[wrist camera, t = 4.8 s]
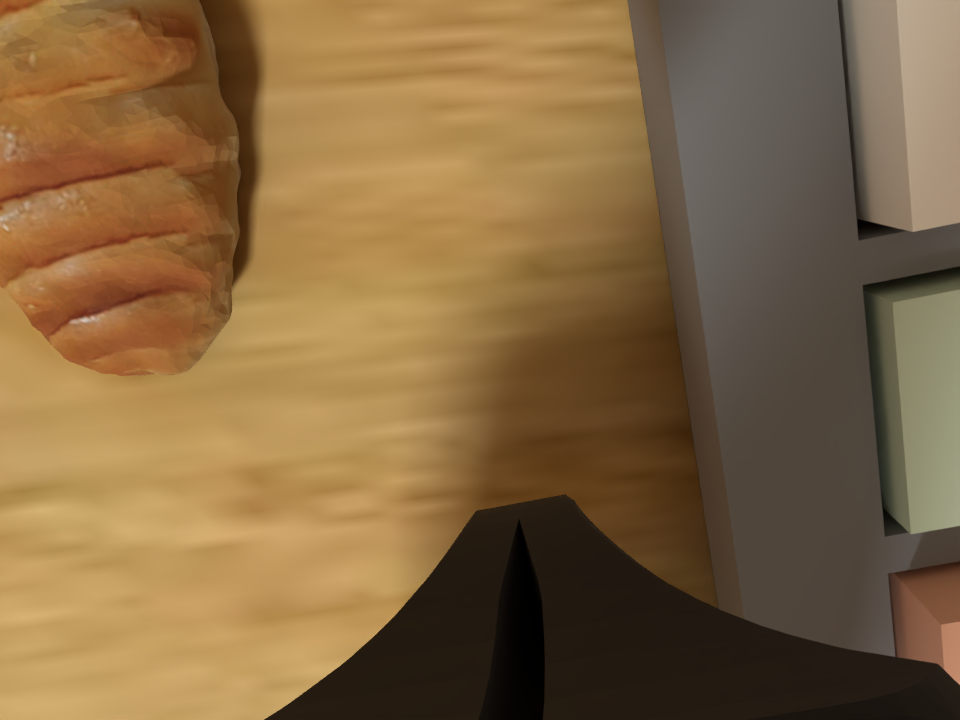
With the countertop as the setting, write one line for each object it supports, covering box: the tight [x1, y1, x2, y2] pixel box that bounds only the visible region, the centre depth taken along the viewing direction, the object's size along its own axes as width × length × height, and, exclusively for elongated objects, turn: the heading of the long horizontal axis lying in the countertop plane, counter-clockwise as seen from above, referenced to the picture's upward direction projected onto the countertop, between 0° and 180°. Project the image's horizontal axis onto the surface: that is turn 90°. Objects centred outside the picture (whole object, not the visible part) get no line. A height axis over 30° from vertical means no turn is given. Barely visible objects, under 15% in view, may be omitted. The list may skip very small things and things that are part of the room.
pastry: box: [0, 0, 241, 376], centre depth 18 cm, size 9×7×4 cm
